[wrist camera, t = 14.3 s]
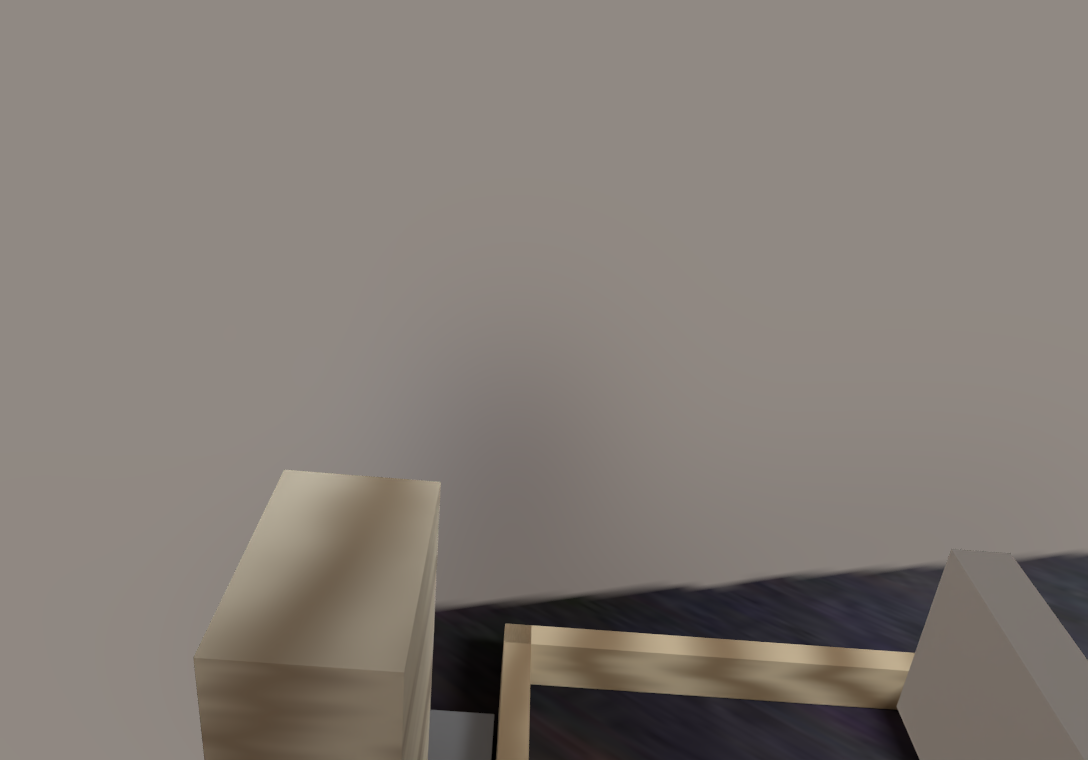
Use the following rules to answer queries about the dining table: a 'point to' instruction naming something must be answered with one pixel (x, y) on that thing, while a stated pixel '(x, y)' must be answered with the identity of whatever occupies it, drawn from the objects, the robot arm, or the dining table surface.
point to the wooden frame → (685, 672)
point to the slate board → (460, 735)
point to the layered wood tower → (326, 626)
